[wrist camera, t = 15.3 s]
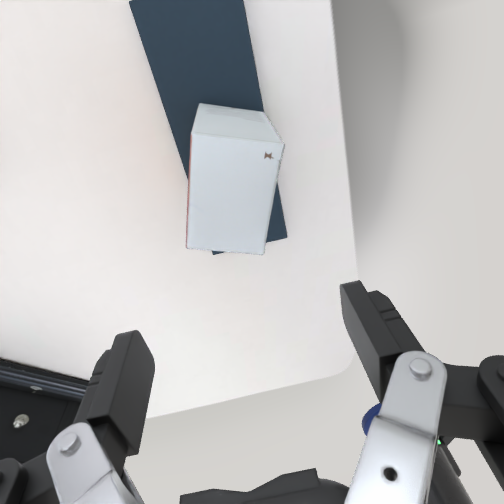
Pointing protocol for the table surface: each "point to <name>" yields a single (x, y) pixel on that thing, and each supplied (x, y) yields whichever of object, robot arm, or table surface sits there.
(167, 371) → the table surface
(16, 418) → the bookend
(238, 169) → the small box
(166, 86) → the side mat
